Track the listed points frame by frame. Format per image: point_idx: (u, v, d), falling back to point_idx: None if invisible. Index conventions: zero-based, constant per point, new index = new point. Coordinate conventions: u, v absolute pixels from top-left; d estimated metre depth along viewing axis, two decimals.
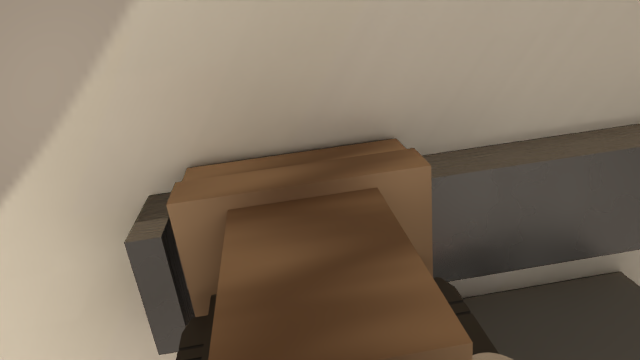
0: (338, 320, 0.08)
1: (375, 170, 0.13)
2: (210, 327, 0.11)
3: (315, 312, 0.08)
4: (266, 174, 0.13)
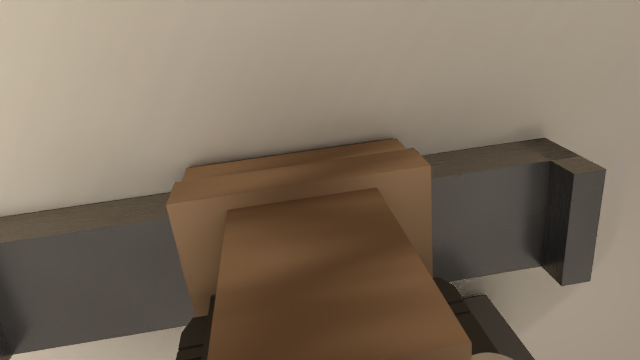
0: (337, 320, 0.08)
1: (375, 170, 0.13)
2: (210, 327, 0.11)
3: (314, 312, 0.08)
4: (266, 174, 0.13)
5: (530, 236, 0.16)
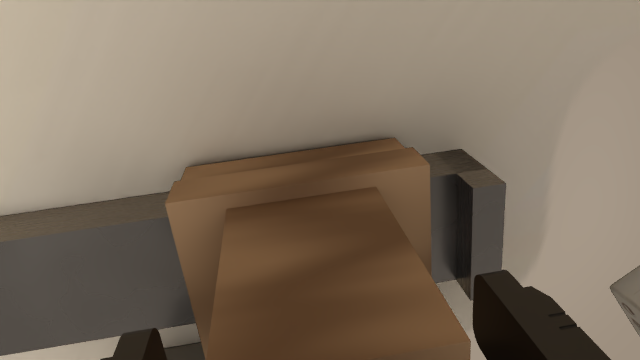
0: (336, 318, 0.08)
1: (374, 169, 0.13)
2: None
3: (313, 311, 0.08)
4: (265, 173, 0.13)
5: (442, 249, 0.16)
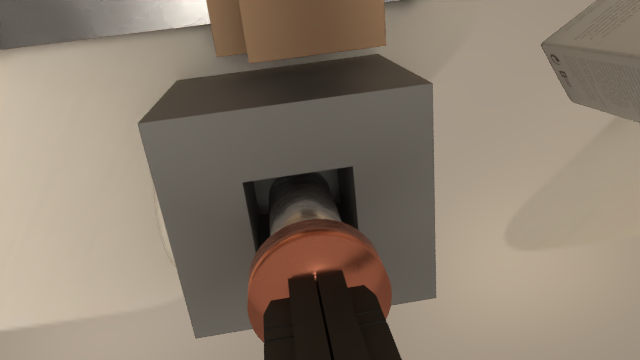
0: None
1: None
2: (295, 308, 0.11)
3: None
4: None
5: None
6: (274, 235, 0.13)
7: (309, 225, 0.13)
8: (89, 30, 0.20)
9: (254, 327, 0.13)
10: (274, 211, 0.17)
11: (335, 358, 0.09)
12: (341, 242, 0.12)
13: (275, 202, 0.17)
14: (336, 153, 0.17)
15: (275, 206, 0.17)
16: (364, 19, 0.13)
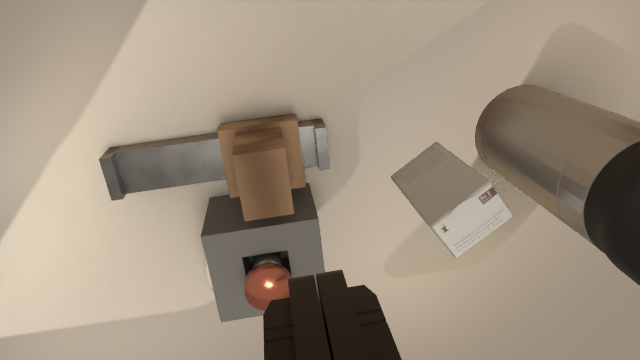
0: (260, 147, 0.36)
1: (280, 121, 0.41)
2: (295, 308, 0.11)
3: (255, 147, 0.36)
4: (247, 123, 0.41)
5: (311, 153, 0.44)
6: (253, 268, 0.39)
7: (265, 265, 0.39)
8: (172, 183, 0.43)
9: (246, 299, 0.39)
10: (255, 256, 0.43)
11: (335, 358, 0.09)
12: (274, 271, 0.38)
13: None
14: (280, 245, 0.40)
15: None
16: (285, 206, 0.37)
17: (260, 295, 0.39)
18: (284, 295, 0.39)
